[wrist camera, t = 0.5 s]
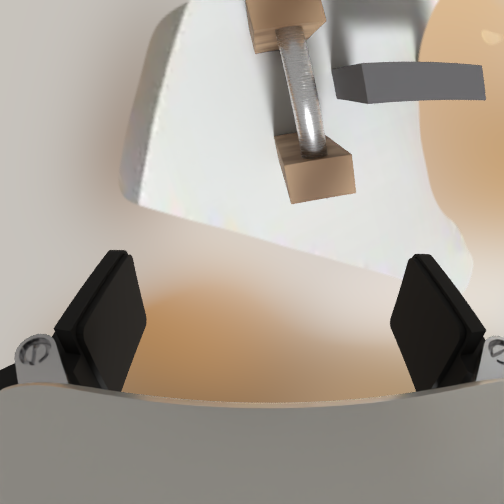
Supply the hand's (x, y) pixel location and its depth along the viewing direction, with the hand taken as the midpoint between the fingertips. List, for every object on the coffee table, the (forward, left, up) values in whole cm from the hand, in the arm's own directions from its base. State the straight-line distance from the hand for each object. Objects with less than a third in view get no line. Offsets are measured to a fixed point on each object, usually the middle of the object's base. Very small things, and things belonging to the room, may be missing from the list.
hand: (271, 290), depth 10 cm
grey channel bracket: (-16, -5, -28) cm, 33 cm away
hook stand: (-4, -5, -28) cm, 29 cm away
